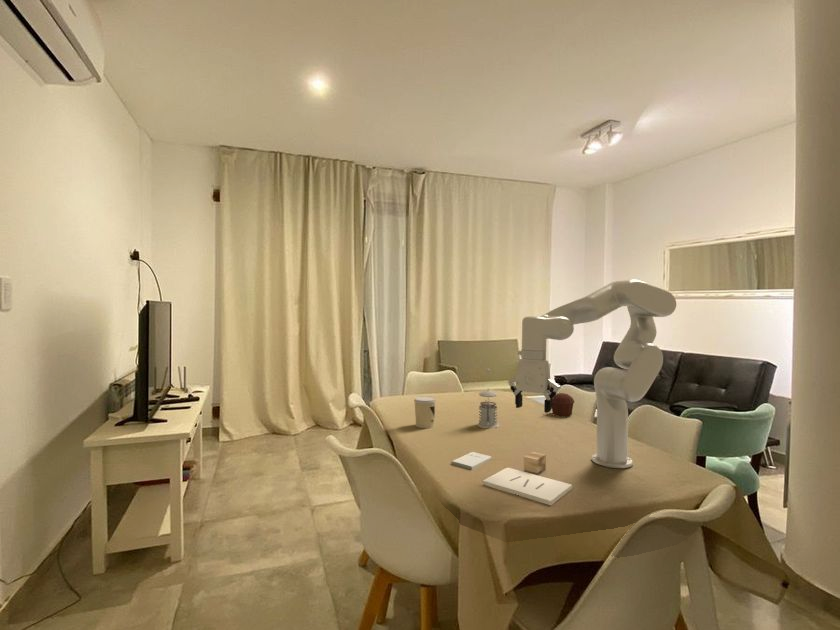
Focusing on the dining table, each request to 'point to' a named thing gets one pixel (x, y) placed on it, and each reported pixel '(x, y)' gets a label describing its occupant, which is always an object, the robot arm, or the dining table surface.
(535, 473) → the block
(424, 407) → the coffee cup
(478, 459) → the external hard drive
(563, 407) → the muffin
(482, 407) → the french press
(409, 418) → the dining table surface
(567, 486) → the board
